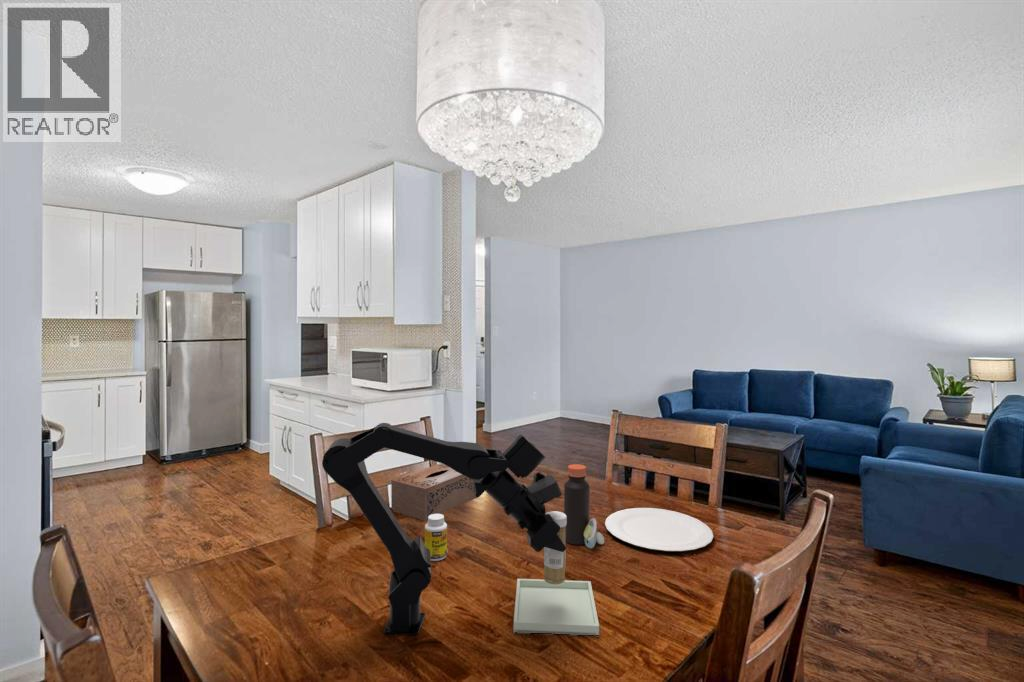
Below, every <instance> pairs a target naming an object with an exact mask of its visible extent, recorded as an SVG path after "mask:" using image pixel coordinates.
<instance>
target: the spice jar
mask: <svg viewBox="0 0 1024 682" xmlns="http://www.w3.org/2000/svg"><path fill="white" fill-rule="evenodd" d="M545 514H549V515H550V516H551V517H553V518H554V519H555V521H556V522H557V523H558V525H559V526H560V527H561V528H560V531H559V532H558V533H557V535H558V536H559V538H560V539H561V541H562V542H563V544H564V545H565V546H566V541H565V539H566V537H565V533H566V530H565V528H566V524H567V516H566V515H565V514H564V512H562V511H557V510H556V511H555V510H554V511H548V512H545ZM566 551H567V549H566V550H565V551H564V552H560V551H557V550H554V549H550V548H547V547H544V548H543V577H542V578H543V580H545V581H546V582H547V583H550V584H561V583H563V582H564V581H565V580H566V576H565V575H566V556H567V554H566Z"/></svg>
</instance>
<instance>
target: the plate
mask: <svg viewBox="0 0 1024 682" xmlns="http://www.w3.org/2000/svg"><path fill="white" fill-rule="evenodd" d="M604 525H605V528H606V530H607V532H608V533H610V534H611V535H612V536H613V537H615V538H617V539H619V540H621V541H622V542H624V543H626V544H629V545H631V546H635V547H638V548H643V549H647V550H650V551H651V550H652V551H658V552H666V553H667V552H690V551H696V550H699V549H702V548H705V547H707V546H708V545H710V544H711V543H712V542H713V539H714V537H715V536H714V533H713V530H712V529H711V528H710V527H709V526H708V524H706V523H704V522H702V521H701V520H699V519H698V518H696V517H693V516H691V515H688V514H685V513H682V512H678V511H674V510H668V509H666V508H665V509H664V508H655V507H633V508H625V509H621V510H618V511H616V512H613V513H611V514H609V515H608V516H607V518H606V519H605V522H604Z"/></svg>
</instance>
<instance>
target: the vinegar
mask: <svg viewBox="0 0 1024 682" xmlns="http://www.w3.org/2000/svg"><path fill="white" fill-rule="evenodd" d="M567 476H568V480H566V482H565V483H564V488H563V494H564V495H563V496H564V497H563V501H564V502H563V507H564V508H563V513H564V514H565V515H566V516H567V524H566V528H565V530H566V533H565V537H566V539H565V543H567V544H570V545H574V546H581V545H586V544H585V541H584V531H585V528H586V526H587V525H588V522H589V520H590V491H591V490H590V484H589V483H588V482H587V481H586V476H587V466H585V465H584V464H578V463H575V464H570V465H568V466H567ZM587 543H588V540H587Z"/></svg>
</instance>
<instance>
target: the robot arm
mask: <svg viewBox="0 0 1024 682" xmlns="http://www.w3.org/2000/svg"><path fill="white" fill-rule="evenodd" d="M384 448H385V449H390V450H392V451H397V452H400V453H404V454H406V455H410V456H414V457H418V458H422V459H426V460H429V461H431V462H432V461H433V462H437V463H438V464H440V463H443V464H445V465H447V466H449V467H450V468H452V469H453V470H455V471H456V472H458V473H460V474H462V475H464V476H466V477H469V478H471V479H474V481H473V482H474V493H475V496H476V497H477V498H480V497H481V496H482V495H483V493H485V492H486V493H487V494H488V495H489V496H490V497H491V498H492V499H493V501H495V502H496V503H497V504H498V505H499V506H500V507H501V508H502V510H503V511H504V513H505V515H507V516H510V517H511V518H512V519H513V520H514V521H515V522H516V523H517V525H518V526H519V528H521V530H524V528H525V529H527V530H526V536H525V537H526V540H527V542H528V544H529V546H530V547H531V548H532V549H534V551H535V552H536V553H539V552H541V551H543V550H544V547H547V548H550V549H554V550H557V551H560V552H564V551H565V550H566V551H567V547H566V544H565V545H564V544H563V542H562V541H561V539H560V538H559V536H558V535H557V533H558V532H559V531H560V528H561V527H560V526H559V525H558V523H557V522H556V521H555V519H554V518H553V517H551V516H550V515H549V514H546V505H545V504H547V503H549V502H551V501H553V500H554V499H558V498H560V497H561V496H563V493H562V490H561V488H560V485H559V483H558V481H557V479H556V478H555V477H554V476H553V475H551V474H548V473H547V474H546V475H545V473H544V474H543V472H541V471H537V472H536V473H533V471H534V470H536V468H537V467H538V466H539V465H540V464H542V462H543V461H544V460H545V459H546V456H545V455H544V454H543V453H542V452H541V451H540V450H539V449H538V448H537V447H536V446H535V445H534V444H533V443H532V442H531V441H529V440H528V439H527V438H526V437H525V436H524V435H523V434H519V435H518V436H517V437H516V438H515V439H514V441H513V442H512V444H510V445H509V447H508V448H507V449H506V450H504V451H502V450H499V449H492V448H491V449H490V448H486V447H485V446H484V445H483V444H480V443H479V442H478V443H477V442H471V441H470V442H469V441H446V440H444V439H440V438H436V437H432V436H430V435H426V434H422V433H420V432H415V431H411V430H408V429H406V428H401V427H397V426H394V425H392V424H390V423H388V422H381V423H378V424H377V425H375V426H374V427H372V428H370V429H367V430H365V431H363V432H360V433H358V434H356V435H354V436H352V437H350V438H345V437H343V438H342V437H341V438H338V439H336V440H335V441H333V442H332V443H331V444H330V446H329V447H328V448H327V449H326V452H325V453H324V454H323V456H322V462H321V465H322V466H321V467H322V468H323V471H324V472H325V473H326V474H327V475H328V476H329V477H330V478H331V479H332V480H333V481H334V482H335V483H336V484H337V485H338V486H340V487H341V488H343V489H344V490H346V491H347V492H348V493H349V494H350V495H351V497H352V498H353V499H354V501H355V502H356V504H357V506H358V507H359V508H360V511H361V512H362V514H363V515H364V516H365V518H366V519H367V521H368V522H369V525H370V526H371V527H372V529H373V530H374V531H375V533H376V535H377V536H378V538H379V539H380V541H381V542H382V544H383V545H384V546H385V548H386V550H387V551H388V553H389V555H390V559H391V562H392V565H393V568H394V570H392V572H391V573H390V578H389V587H388V596H387V597H388V600H389V620H388V622H387V623H386V625H385V628H384V629H383V633H384V635H402V636H403V635H404V636H405V635H406V636H417V635H418V634H420V630H421V627H422V625H423V622H424V621H425V620H424V619H425V617H426V612H421V594H422V592H423V591H424V590H425V589H426V588H427V587H428V586H429V585H430V583H431V580H432V571H431V567H432V561H431V557H430V550H429V549H427V548H426V547H425V543H424V541H423V539H422V537H421V535H420V536H418V537H417V538H415V539H413V538H412V537H410V536H409V535H407V533H406V532H405V530H404V529H403V527H402V526H401V524H400V522H399V521H398V519H397V518H396V516H395V514H394V513H393V511H391V508H390V507H389V506H388V504H387V503H386V500H385V499H384V498H383V496H382V495H381V493H380V492H379V490H378V488H377V487H376V486H375V484H374V482H373V481H372V479H371V478H370V476H369V473H368V470H367V465H366V463H365V460H366V459H368V458H370V457H371V456H372V455H374V454H375V453H378V452H379V451H381V450H383V449H384ZM507 469H509V471H511V473H513V474H514V476H516V478H518V479H519V478H521V479H524V478H528V477H529V475H530V474H532V473H533V480H532V481H533V482H532V481H531V482H530V483H531V484H530V485H528V486H526V485H525V484H524V483H521V482H519V481H518V480H516V478H515V477H514V476H513V475H512V474H511V473H509V471H508V470H507ZM477 498H476V499H477Z"/></svg>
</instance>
